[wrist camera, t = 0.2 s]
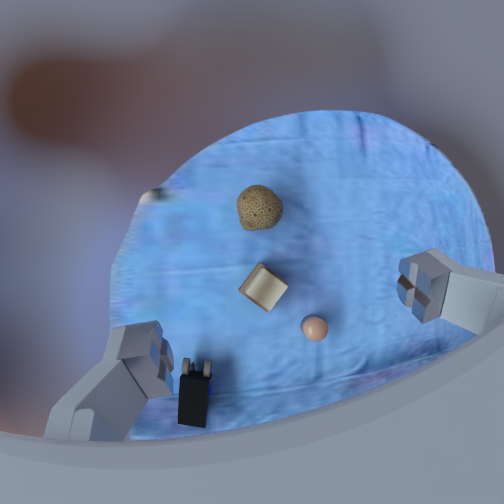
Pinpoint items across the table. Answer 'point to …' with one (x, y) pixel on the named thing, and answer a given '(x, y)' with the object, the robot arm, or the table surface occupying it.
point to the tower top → (266, 289)
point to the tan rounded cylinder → (314, 327)
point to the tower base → (252, 276)
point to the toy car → (194, 394)
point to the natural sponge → (259, 208)
